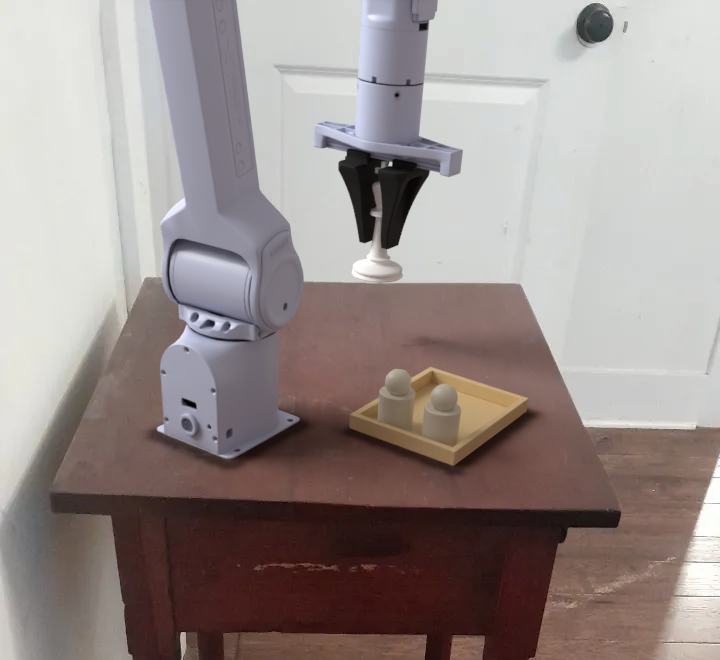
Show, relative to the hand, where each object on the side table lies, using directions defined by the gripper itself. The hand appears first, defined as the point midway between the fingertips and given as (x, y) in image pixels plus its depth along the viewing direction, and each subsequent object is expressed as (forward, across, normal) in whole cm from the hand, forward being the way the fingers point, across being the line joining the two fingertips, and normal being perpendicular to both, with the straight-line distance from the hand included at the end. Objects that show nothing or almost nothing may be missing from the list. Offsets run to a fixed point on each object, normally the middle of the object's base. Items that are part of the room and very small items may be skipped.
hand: (378, 243), depth 93 cm
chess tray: (+10, -14, +11) cm, 21 cm away
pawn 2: (+9, -16, +15) cm, 24 cm away
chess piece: (+3, 0, 0) cm, 3 cm away
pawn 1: (+9, -12, +15) cm, 21 cm away
